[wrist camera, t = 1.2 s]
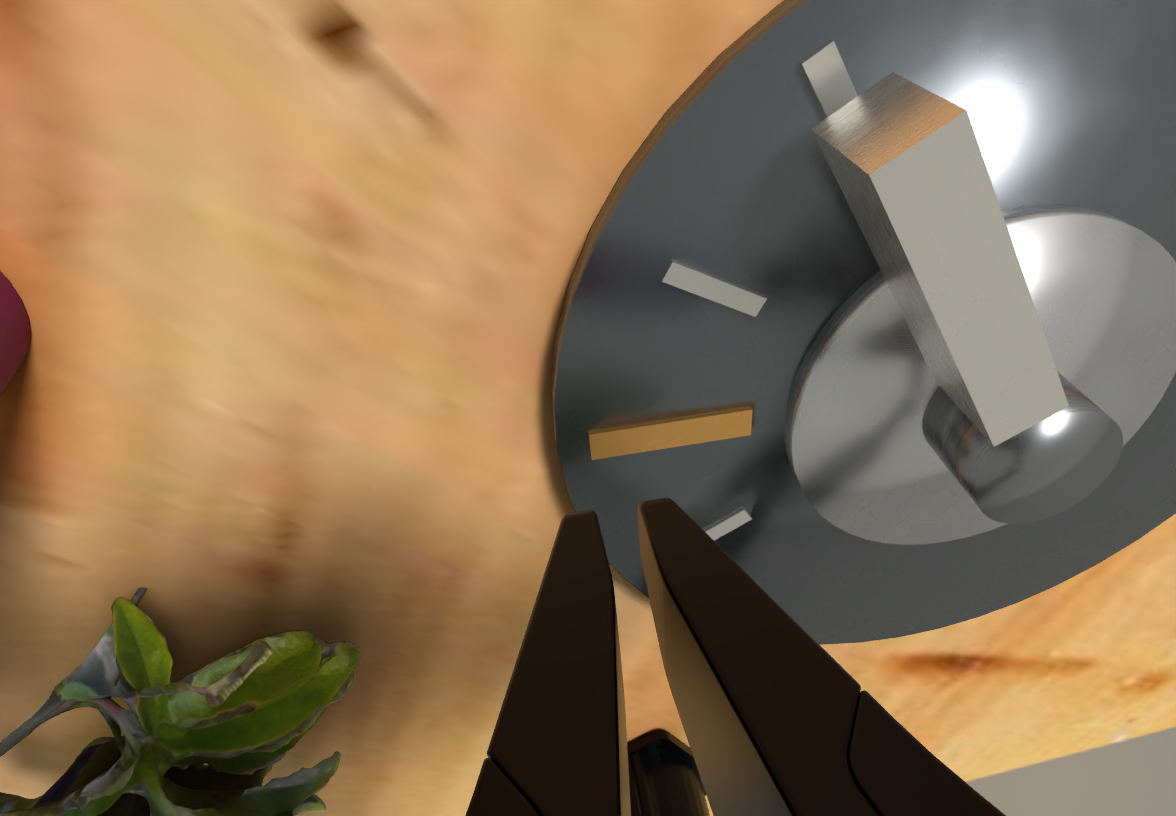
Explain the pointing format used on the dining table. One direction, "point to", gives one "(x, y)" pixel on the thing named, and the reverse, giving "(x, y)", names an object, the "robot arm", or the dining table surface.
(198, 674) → the passion flower
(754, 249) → the dial plate
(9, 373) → the cup
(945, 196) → the dial
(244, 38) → the dining table surface
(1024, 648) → the dining table surface
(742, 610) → the robot arm
